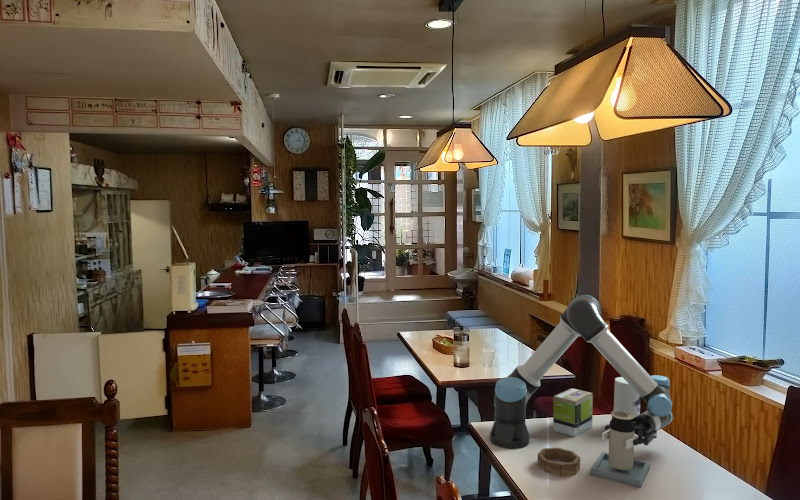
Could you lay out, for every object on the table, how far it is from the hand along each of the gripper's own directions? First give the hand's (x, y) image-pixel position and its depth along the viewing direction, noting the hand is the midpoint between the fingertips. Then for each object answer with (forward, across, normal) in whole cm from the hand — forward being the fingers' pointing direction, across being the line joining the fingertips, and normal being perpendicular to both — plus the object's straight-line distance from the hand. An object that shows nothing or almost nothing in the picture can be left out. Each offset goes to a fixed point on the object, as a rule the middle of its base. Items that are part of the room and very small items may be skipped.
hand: (614, 440), depth 195 cm
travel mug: (-5, 0, -10) cm, 11 cm away
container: (-45, +18, -12) cm, 51 cm away
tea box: (-27, +32, -13) cm, 44 cm away
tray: (-5, 0, -12) cm, 13 cm away
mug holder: (+8, +16, -12) cm, 22 cm away
